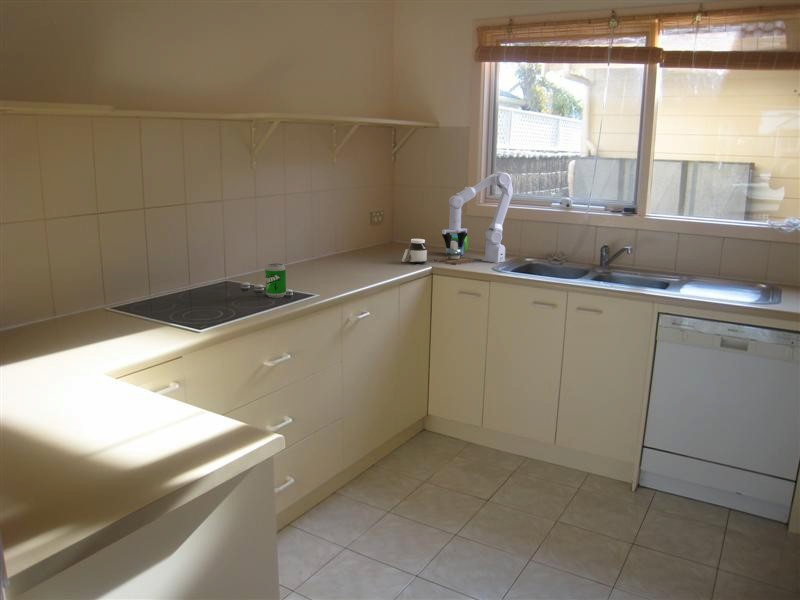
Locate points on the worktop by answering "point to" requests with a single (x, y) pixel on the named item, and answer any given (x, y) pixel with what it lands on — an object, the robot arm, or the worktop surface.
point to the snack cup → (464, 246)
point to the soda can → (275, 280)
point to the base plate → (462, 260)
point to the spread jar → (416, 252)
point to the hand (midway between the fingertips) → (454, 247)
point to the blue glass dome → (454, 249)
